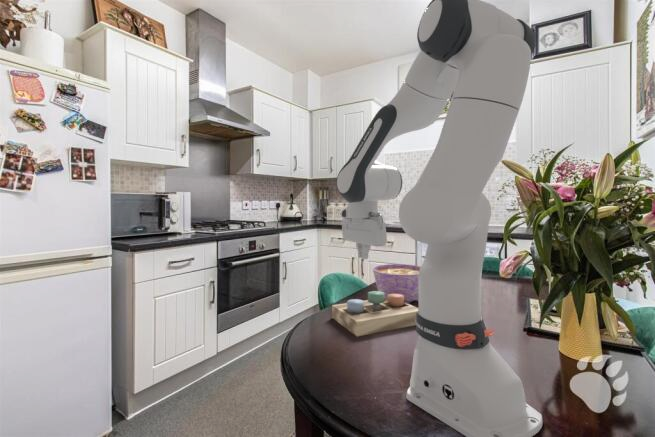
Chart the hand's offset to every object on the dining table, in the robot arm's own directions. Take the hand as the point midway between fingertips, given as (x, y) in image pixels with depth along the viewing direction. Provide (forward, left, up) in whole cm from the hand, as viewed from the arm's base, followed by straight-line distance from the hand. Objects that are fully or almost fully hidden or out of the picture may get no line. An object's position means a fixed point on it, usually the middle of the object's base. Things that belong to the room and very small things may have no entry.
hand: (363, 258), depth 98 cm
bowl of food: (+13, -22, -19) cm, 32 cm away
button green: (-1, -3, -17) cm, 17 cm away
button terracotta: (-1, -10, -18) cm, 21 cm away
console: (-1, -3, -19) cm, 19 cm away
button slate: (-1, +3, -18) cm, 19 cm away
